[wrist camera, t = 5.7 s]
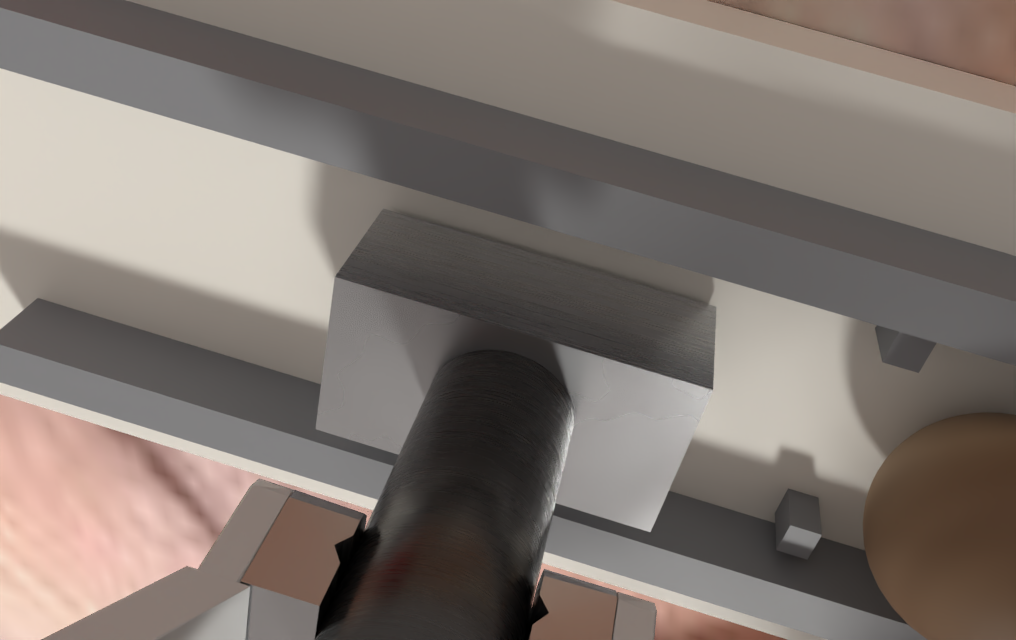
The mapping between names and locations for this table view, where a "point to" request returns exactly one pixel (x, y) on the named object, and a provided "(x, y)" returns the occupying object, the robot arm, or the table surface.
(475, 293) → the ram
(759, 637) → the table surface
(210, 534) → the table surface
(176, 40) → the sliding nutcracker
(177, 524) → the table surface
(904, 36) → the table surface
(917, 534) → the brown ball
